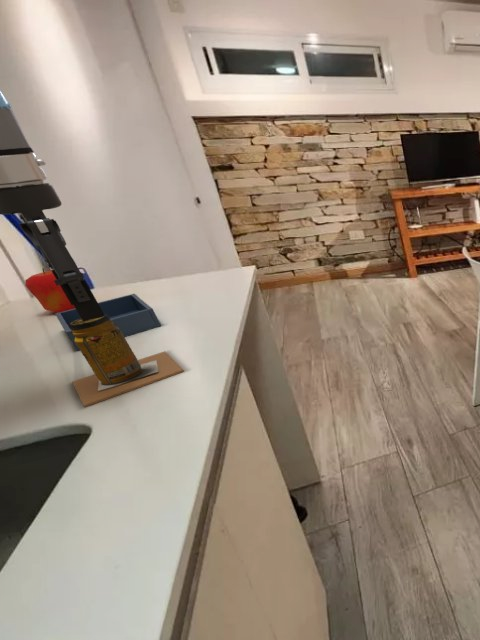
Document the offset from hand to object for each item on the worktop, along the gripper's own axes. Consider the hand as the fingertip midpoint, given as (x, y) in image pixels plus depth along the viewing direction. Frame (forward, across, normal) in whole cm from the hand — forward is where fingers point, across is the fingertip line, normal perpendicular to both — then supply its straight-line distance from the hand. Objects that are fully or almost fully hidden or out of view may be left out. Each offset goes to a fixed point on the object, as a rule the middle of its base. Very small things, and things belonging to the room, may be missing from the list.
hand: (87, 310), depth 83 cm
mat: (+14, 0, 0) cm, 14 cm away
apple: (+15, +68, +2) cm, 69 cm away
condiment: (+14, -1, 0) cm, 14 cm away
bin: (+14, +37, -3) cm, 39 cm away
